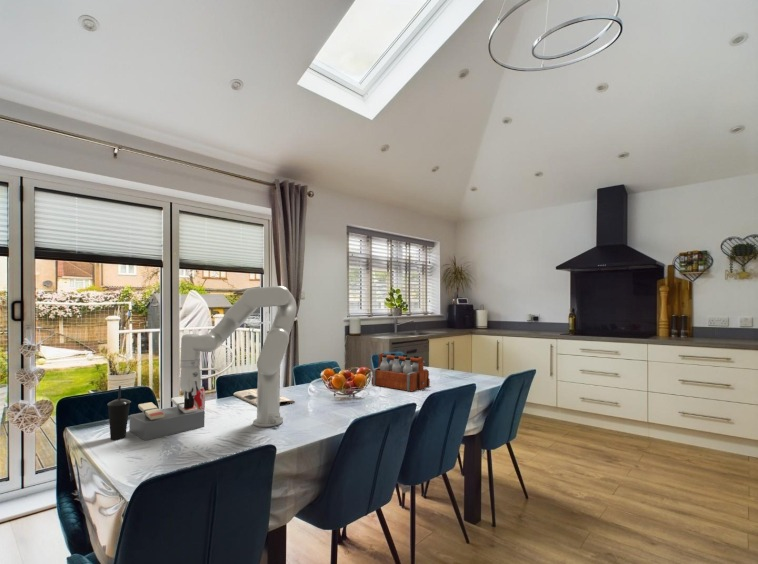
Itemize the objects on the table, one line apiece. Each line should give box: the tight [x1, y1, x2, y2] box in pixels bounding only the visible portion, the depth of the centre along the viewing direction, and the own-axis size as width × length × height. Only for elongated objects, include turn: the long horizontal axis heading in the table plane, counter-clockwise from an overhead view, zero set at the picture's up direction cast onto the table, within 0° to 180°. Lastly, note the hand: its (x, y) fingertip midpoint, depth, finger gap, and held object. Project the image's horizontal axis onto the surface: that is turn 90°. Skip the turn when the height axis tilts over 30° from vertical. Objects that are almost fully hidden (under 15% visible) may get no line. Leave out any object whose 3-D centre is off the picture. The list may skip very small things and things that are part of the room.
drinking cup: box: [106, 385, 132, 441], centre depth 157 cm, size 8×8×20 cm
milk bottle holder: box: [370, 352, 431, 392], centre depth 255 cm, size 21×35×19 cm, turn 52°
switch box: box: [128, 405, 206, 442], centre depth 170 cm, size 22×23×8 cm
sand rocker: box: [137, 401, 165, 420], centre depth 163 cm, size 14×5×2 cm, turn 49°
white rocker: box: [171, 395, 197, 413], centre depth 173 cm, size 14×5×2 cm, turn 49°
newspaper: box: [233, 388, 296, 407], centre depth 218 cm, size 37×19×3 cm, turn 42°
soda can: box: [194, 386, 206, 411], centre depth 191 cm, size 7×7×12 cm
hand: (188, 407), depth 169 cm, fingers closed
